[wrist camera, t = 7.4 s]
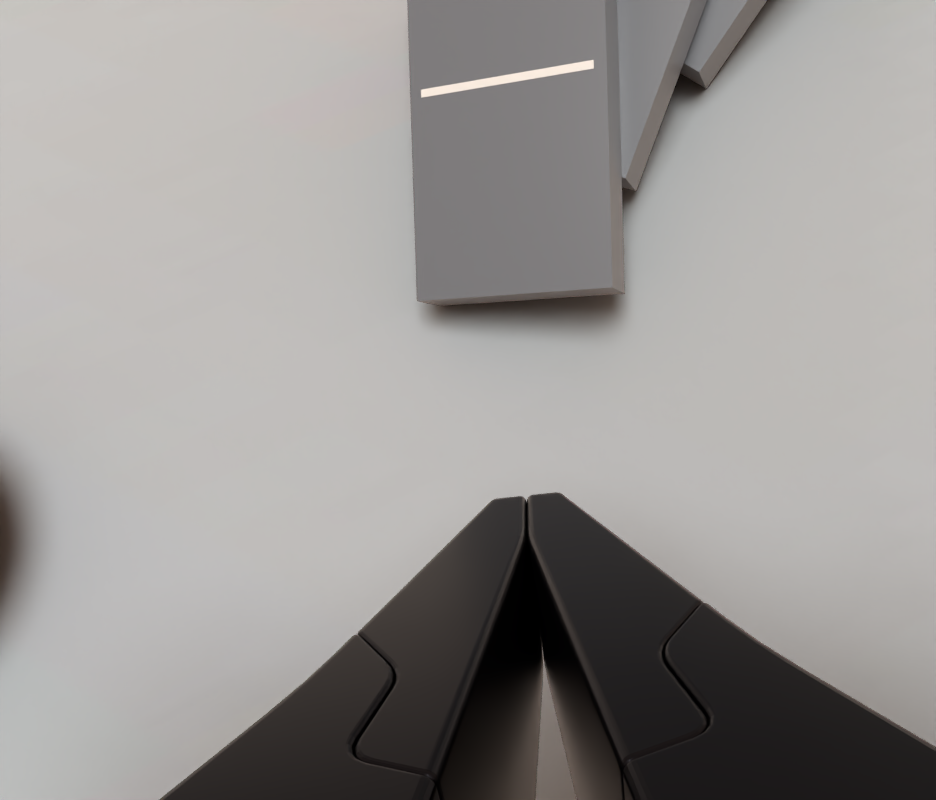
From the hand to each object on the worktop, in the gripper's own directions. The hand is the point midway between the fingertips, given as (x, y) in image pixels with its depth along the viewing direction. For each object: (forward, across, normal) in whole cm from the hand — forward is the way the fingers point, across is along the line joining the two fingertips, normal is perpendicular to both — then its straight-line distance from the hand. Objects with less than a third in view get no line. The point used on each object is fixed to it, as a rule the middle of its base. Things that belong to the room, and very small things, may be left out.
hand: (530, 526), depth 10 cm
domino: (+11, 0, -2) cm, 12 cm away
